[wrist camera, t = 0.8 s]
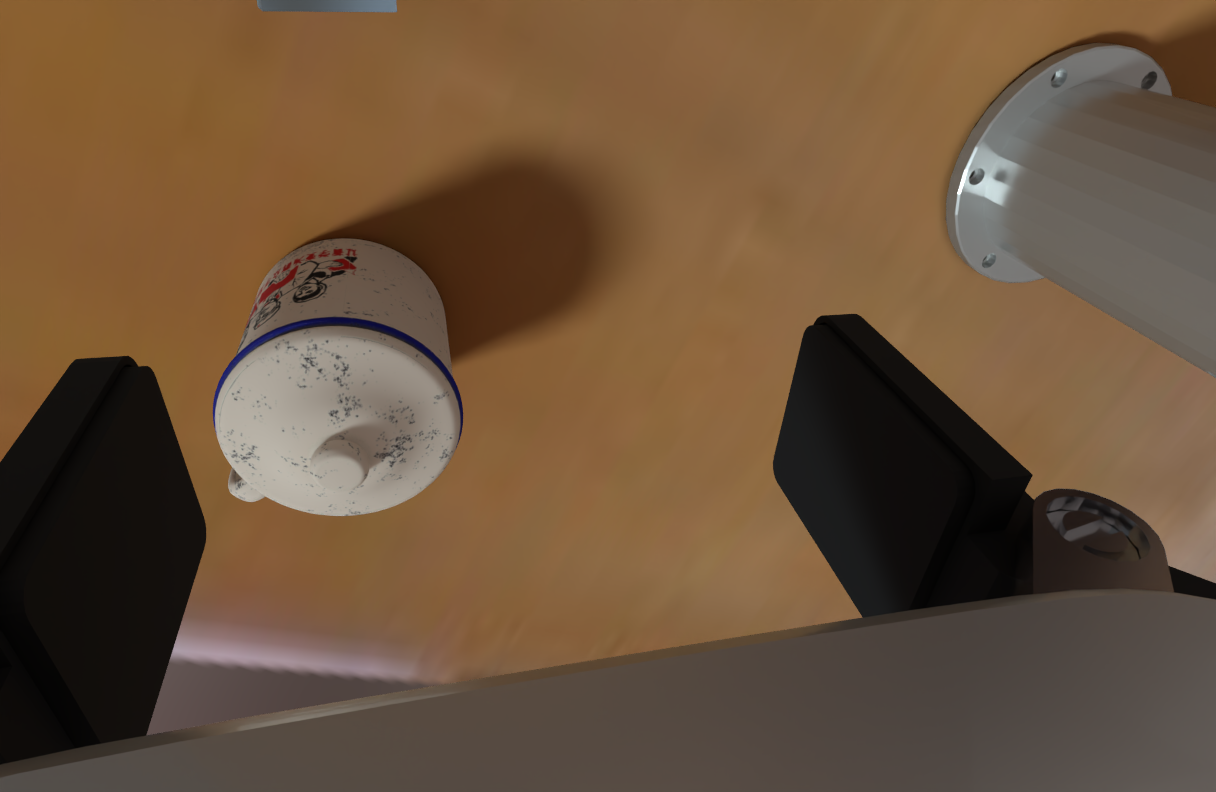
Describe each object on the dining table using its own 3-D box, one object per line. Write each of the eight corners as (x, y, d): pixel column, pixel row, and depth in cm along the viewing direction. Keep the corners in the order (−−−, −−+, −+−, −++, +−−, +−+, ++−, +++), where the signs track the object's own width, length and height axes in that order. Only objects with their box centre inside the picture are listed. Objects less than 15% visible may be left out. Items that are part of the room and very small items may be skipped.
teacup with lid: (336, 188, 31) (312, 312, 22) (488, 314, 36) (520, 459, 27) (168, 366, 34) (83, 544, 25) (332, 460, 39) (312, 638, 30)
